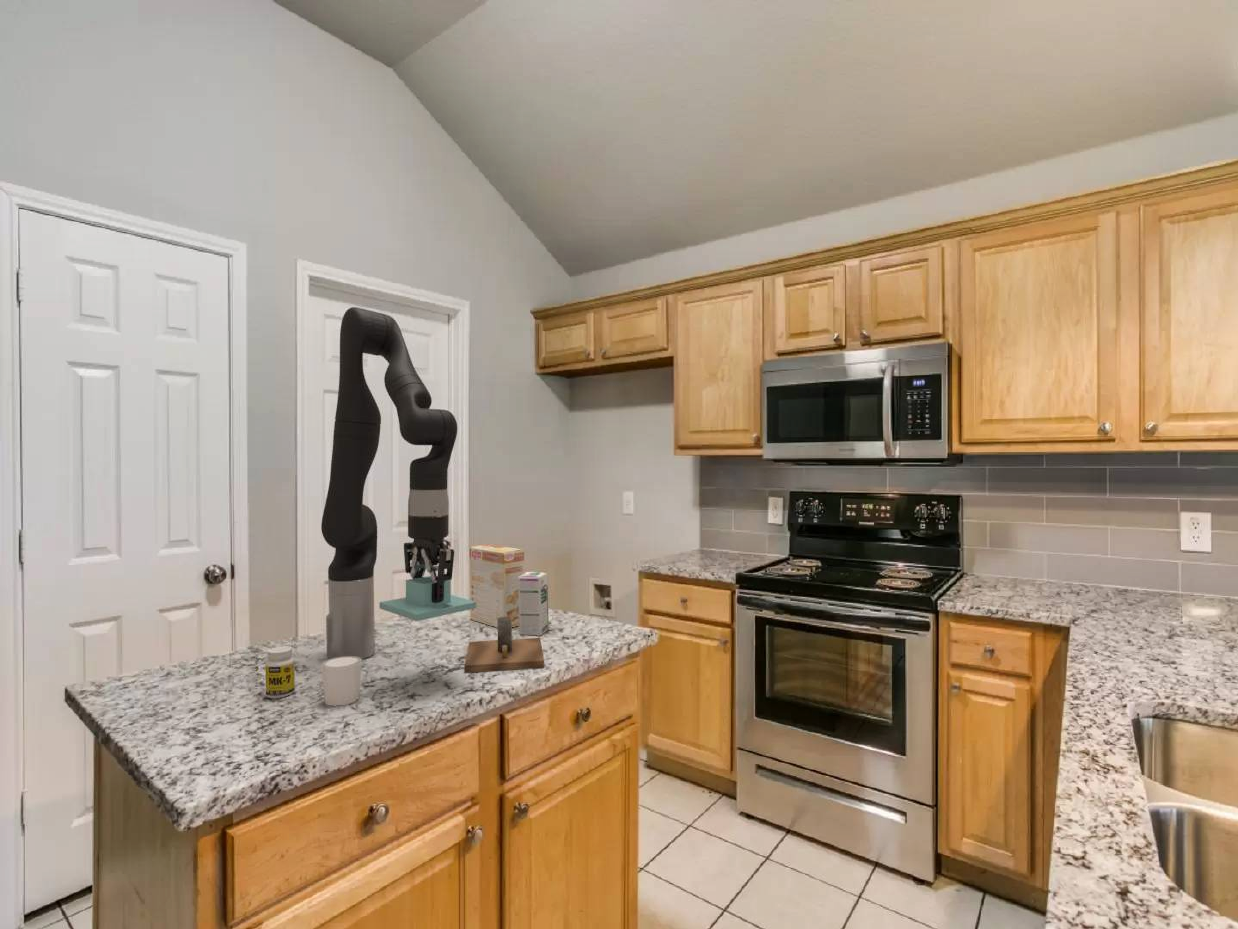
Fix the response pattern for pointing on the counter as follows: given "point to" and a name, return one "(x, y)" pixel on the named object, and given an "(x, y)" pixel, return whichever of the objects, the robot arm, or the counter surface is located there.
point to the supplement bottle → (280, 672)
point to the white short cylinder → (341, 679)
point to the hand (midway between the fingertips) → (427, 599)
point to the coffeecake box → (495, 583)
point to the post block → (504, 652)
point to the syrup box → (533, 603)
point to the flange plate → (426, 601)
